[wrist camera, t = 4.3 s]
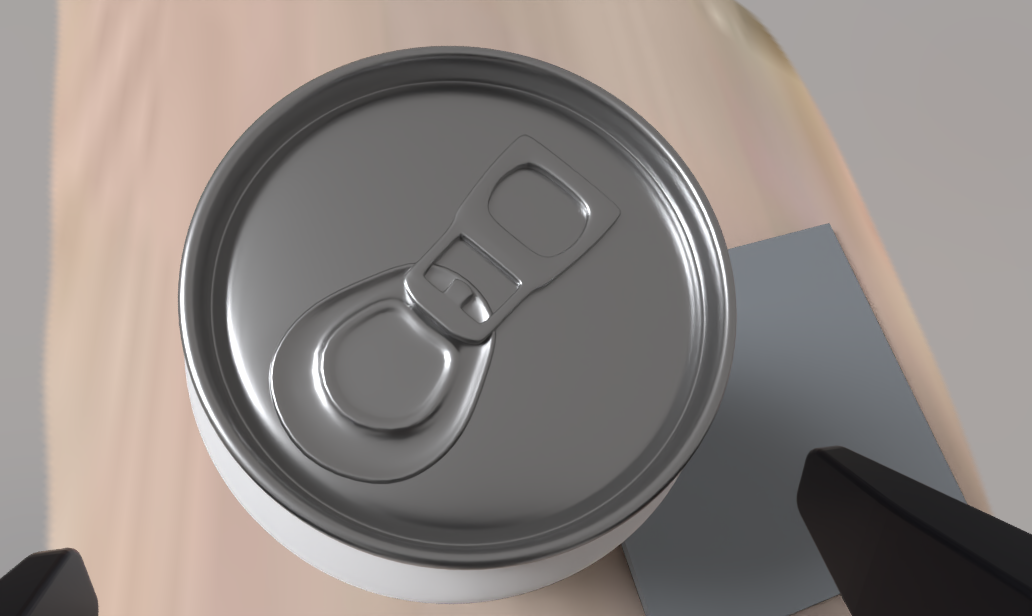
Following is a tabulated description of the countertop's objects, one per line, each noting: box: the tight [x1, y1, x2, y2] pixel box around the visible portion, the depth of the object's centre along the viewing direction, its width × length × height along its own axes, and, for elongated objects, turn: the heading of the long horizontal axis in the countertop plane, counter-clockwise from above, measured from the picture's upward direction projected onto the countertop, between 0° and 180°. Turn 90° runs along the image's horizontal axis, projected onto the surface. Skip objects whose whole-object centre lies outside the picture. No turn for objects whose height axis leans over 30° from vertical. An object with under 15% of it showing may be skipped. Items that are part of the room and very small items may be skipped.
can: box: [178, 46, 737, 604], centre depth 12 cm, size 6×6×12 cm
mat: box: [621, 223, 967, 616], centre depth 19 cm, size 10×10×1 cm
